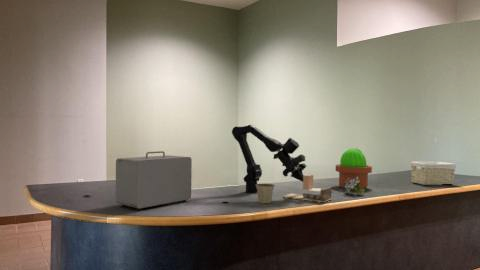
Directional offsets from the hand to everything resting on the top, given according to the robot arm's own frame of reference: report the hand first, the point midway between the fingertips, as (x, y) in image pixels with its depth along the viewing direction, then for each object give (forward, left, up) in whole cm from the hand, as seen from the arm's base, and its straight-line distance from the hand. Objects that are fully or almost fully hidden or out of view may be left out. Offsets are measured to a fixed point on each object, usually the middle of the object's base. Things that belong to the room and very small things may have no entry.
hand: (305, 181), depth 195 cm
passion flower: (+28, +20, -9) cm, 36 cm away
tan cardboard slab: (+1, -1, -9) cm, 9 cm away
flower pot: (-20, -14, -9) cm, 26 cm away
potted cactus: (+31, +47, -9) cm, 57 cm away
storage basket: (+88, +75, -9) cm, 116 cm away
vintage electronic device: (-72, -28, -9) cm, 78 cm away
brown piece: (+5, -2, -7) cm, 9 cm away
